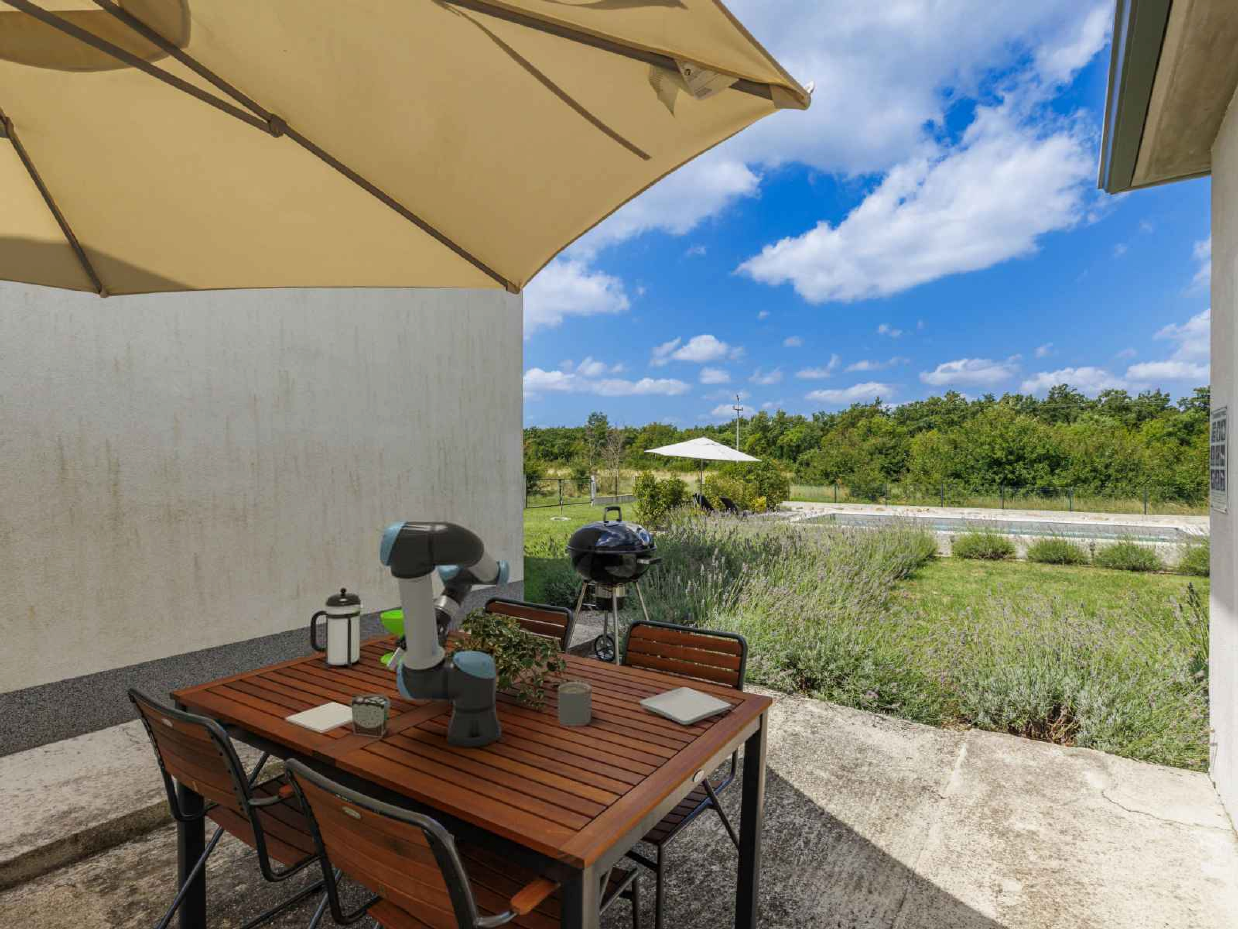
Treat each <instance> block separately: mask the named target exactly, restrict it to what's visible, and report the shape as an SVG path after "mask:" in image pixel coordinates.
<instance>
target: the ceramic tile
mask: <svg viewBox="0 0 1238 929" xmlns="http://www.w3.org/2000/svg"><path fill="white" fill-rule="evenodd" d="M284 720H285V721H286V722H290V723H292V724H294V725H297V726H300V727H302V728H306V729H308V730H311V731H314V732H317V733H320V734H323V733H325V732H329V731H331V730H333V729H337V728H339V727H341V726H344V725H348V724H351V723H353V718H352V706H348V705H344V704H341V703H338V702H335V701H332V702H329V703H326V704H323V705H320V706H317V707H314V708H310V709H308V710H307V709H306V710H304V711H301V712H299V713H295V714H293V715H290V716H285V719H284Z"/></svg>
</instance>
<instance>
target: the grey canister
mask: <svg viewBox="0 0 1238 929" xmlns="http://www.w3.org/2000/svg"><path fill="white" fill-rule="evenodd" d="M591 704H592V687H591V685H589V684H588V683H585V682H579V681H578V682H577V681H572V682H567V683H566V682H565V683H563V684H560V685H559V686H558V688H557V723H558V724H560V725H561V726H564V727H568V726H571V728H572V727H573V728H575V727H576V726H579V727H583V726H586V725H588V724H590V723H591V720H592V719H591V717H592V716H591V715H592V714H591V713H592V712H591V711H592V708H591V707H592V705H591ZM589 722H590V723H589Z"/></svg>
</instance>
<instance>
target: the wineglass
mask: <svg viewBox="0 0 1238 929" xmlns="http://www.w3.org/2000/svg"><path fill="white" fill-rule="evenodd" d="M380 621H381V623H382V626H383V628H385V630H386V631H388V632H390V633H391V634H395V635H398V639H400V638H401V637H402V636H403V635H404V634H405V630H404V622H403V614H402V609H396V610H390V611H386V612H383V613H381V614H380ZM403 647H404V646H403ZM394 652H395V651H393V652H390V653H389V652H388V653H385V654H384V655H383V656H382V657H381V658H380V662H381V663H382V664H385V665H387V664H388V662H389V661H390V659H391V658H392V655H393V654H394ZM406 652H407V650H405V653H406ZM405 653H404V655H405ZM404 655H403V656H404ZM403 656H402V658H401V659H400V661H401V660H402V659H403ZM400 661H399V662H398V664H397V665H399V663H400Z"/></svg>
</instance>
